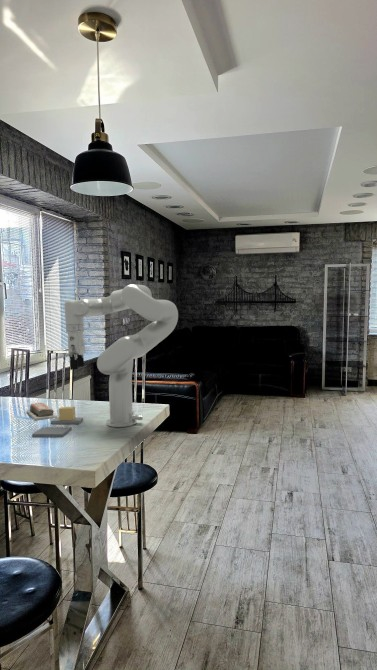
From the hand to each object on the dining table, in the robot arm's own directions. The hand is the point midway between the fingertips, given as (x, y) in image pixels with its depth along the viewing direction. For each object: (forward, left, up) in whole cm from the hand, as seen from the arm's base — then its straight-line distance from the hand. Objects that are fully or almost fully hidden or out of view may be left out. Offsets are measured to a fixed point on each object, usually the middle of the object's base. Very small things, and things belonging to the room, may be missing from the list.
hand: (77, 367), depth 192 cm
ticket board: (+3, +21, -23) cm, 32 cm away
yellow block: (+3, +5, -23) cm, 24 cm away
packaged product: (+20, -8, -24) cm, 32 cm away
